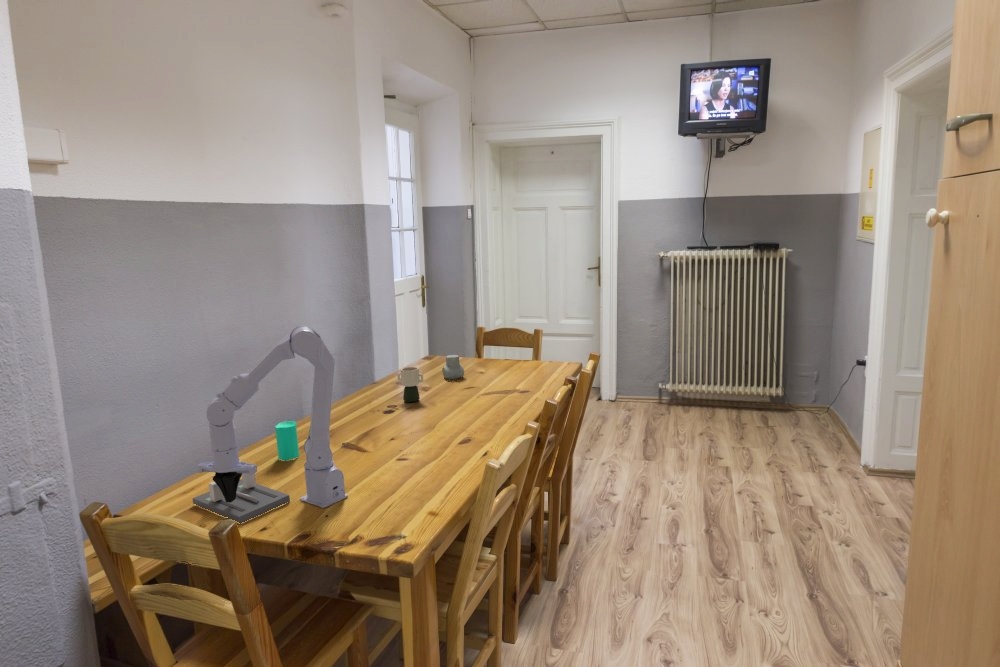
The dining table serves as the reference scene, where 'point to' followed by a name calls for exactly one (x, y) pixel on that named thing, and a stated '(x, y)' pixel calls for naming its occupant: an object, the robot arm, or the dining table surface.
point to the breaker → (248, 480)
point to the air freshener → (453, 368)
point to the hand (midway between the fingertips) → (230, 500)
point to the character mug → (410, 383)
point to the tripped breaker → (215, 492)
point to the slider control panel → (244, 502)
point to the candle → (287, 440)
